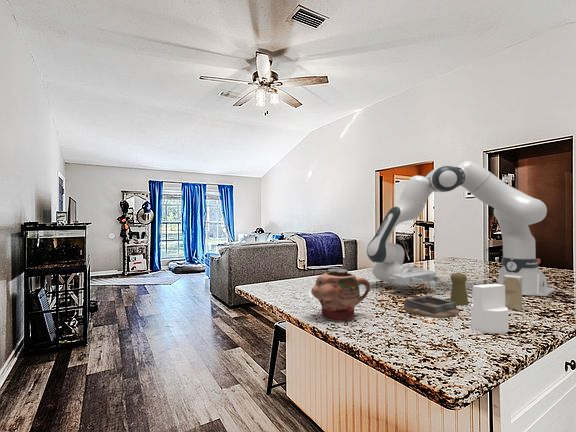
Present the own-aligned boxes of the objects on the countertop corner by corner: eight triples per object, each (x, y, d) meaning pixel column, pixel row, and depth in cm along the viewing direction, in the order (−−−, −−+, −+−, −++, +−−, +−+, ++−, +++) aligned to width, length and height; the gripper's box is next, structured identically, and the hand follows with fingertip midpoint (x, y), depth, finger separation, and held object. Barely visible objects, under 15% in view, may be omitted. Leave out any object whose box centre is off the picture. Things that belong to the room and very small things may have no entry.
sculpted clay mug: (358, 308, 112) (358, 268, 112) (379, 318, 101) (379, 274, 101) (305, 314, 106) (305, 272, 106) (322, 326, 94) (321, 278, 94)
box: (502, 307, 111) (502, 275, 111) (504, 305, 114) (504, 274, 114) (521, 310, 107) (520, 277, 107) (523, 308, 110) (522, 275, 110)
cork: (471, 306, 113) (470, 274, 113) (452, 305, 115) (452, 274, 115) (465, 301, 119) (464, 272, 119) (447, 301, 120) (447, 271, 121)
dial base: (425, 301, 121) (425, 293, 121) (469, 312, 106) (469, 303, 106) (393, 307, 112) (393, 299, 112) (436, 321, 98) (436, 311, 98)
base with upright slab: (491, 335, 86) (490, 290, 86) (464, 324, 94) (463, 283, 94) (516, 331, 88) (516, 287, 88) (487, 321, 97) (487, 281, 97)
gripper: (385, 270, 134) (413, 275, 122) (418, 266, 144) (447, 270, 132) (386, 285, 134) (413, 291, 122) (419, 280, 144) (447, 285, 132)
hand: (431, 280), depth 127 cm, fingers open, 8 cm apart
